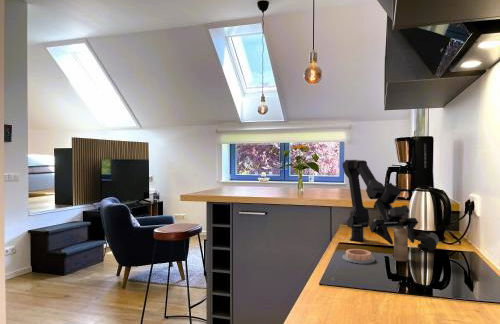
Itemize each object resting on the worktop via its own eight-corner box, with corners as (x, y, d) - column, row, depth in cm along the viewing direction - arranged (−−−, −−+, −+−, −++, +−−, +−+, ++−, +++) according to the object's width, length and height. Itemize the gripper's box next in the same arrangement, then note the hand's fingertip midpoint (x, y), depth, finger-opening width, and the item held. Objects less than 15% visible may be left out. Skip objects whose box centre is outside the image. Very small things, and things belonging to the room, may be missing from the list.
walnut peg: (393, 257, 140) (393, 227, 140) (407, 258, 138) (407, 228, 138) (393, 260, 135) (393, 229, 135) (408, 261, 134) (407, 230, 133)
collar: (344, 253, 145) (344, 247, 145) (375, 256, 141) (375, 249, 141) (340, 261, 134) (340, 254, 134) (373, 265, 130) (373, 257, 130)
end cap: (436, 253, 145) (436, 237, 145) (417, 251, 149) (417, 235, 149) (438, 248, 153) (438, 232, 153) (421, 246, 157) (421, 231, 157)
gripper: (373, 199, 138) (390, 232, 128) (415, 197, 142) (434, 230, 132) (363, 215, 146) (378, 248, 136) (402, 214, 150) (420, 246, 139)
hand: (403, 243), depth 135 cm, fingers open, 9 cm apart
